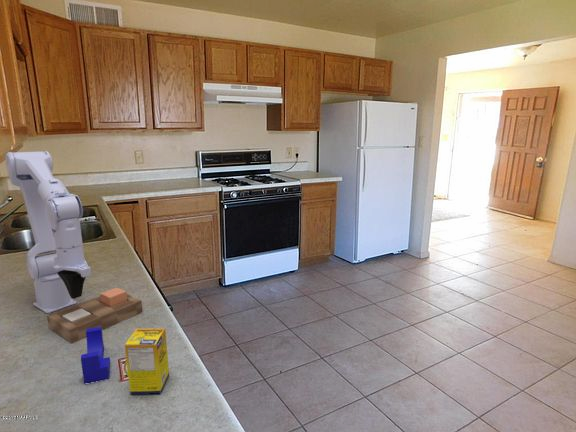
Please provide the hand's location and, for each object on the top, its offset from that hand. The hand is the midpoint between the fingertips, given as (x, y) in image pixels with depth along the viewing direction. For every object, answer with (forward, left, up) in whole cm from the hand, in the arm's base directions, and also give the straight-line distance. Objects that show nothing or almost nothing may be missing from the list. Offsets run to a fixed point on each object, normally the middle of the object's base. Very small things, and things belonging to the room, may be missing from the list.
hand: (76, 296), depth 94 cm
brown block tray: (0, +5, -8) cm, 10 cm away
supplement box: (+34, -3, -9) cm, 35 cm away
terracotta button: (0, +10, -6) cm, 11 cm away
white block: (0, 0, -8) cm, 8 cm away
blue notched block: (+19, -6, -9) cm, 22 cm away
